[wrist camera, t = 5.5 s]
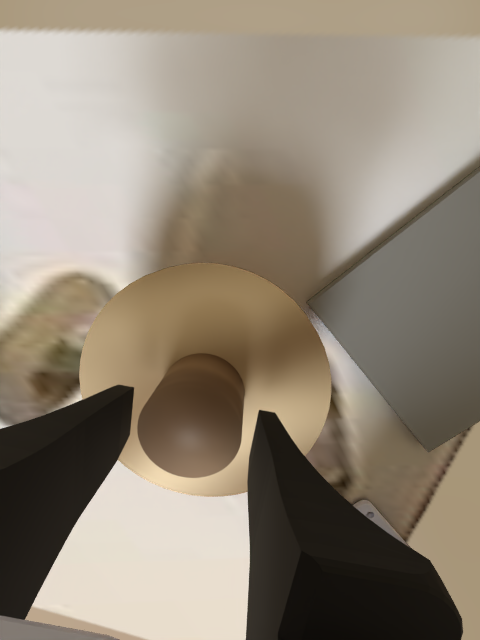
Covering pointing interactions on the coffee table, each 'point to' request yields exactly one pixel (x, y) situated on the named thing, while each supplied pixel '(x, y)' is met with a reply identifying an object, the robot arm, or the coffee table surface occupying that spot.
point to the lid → (206, 372)
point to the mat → (418, 316)
